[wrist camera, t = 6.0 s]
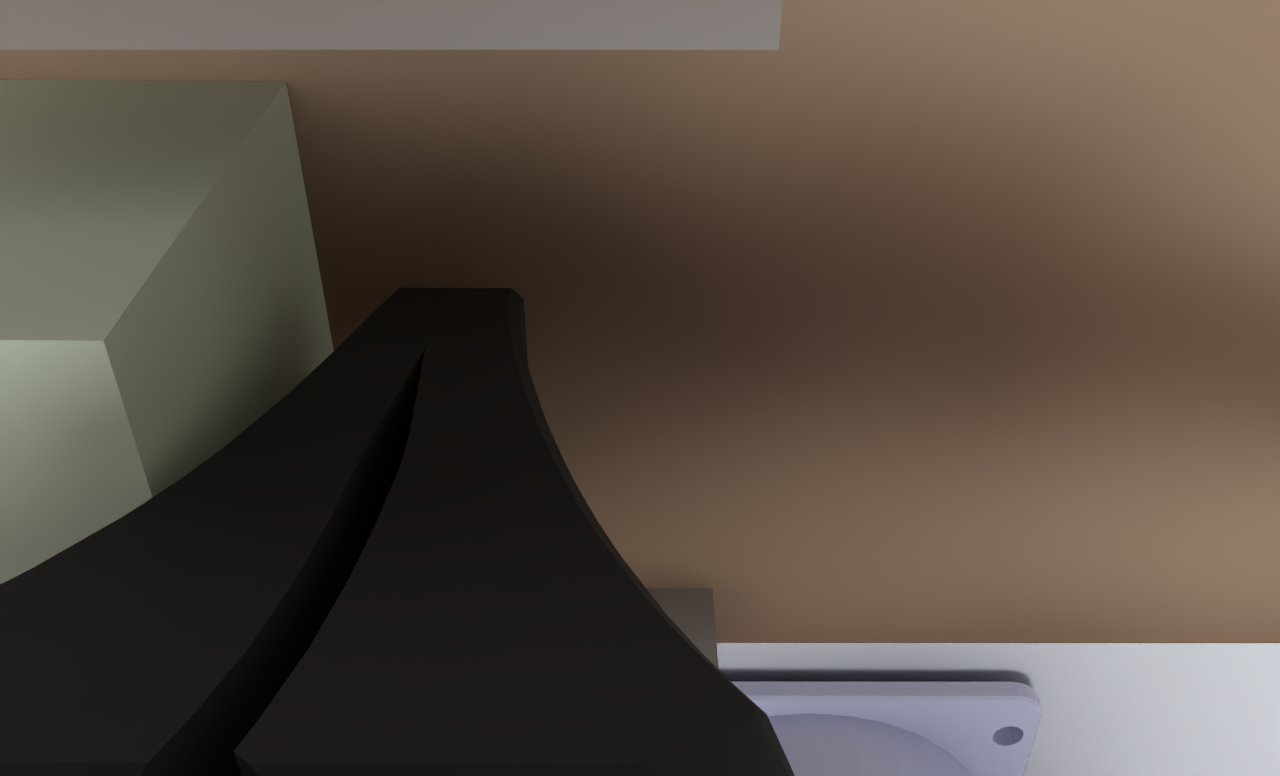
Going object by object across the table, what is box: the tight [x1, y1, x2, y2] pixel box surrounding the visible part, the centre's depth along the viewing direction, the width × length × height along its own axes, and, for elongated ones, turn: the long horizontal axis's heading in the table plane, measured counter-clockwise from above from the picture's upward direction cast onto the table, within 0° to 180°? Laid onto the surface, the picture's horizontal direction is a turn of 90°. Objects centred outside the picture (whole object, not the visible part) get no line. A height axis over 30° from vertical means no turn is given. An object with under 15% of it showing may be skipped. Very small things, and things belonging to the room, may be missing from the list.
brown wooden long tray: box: [0, 0, 1280, 668], centre depth 12 cm, size 10×30×6 cm, turn 90°
